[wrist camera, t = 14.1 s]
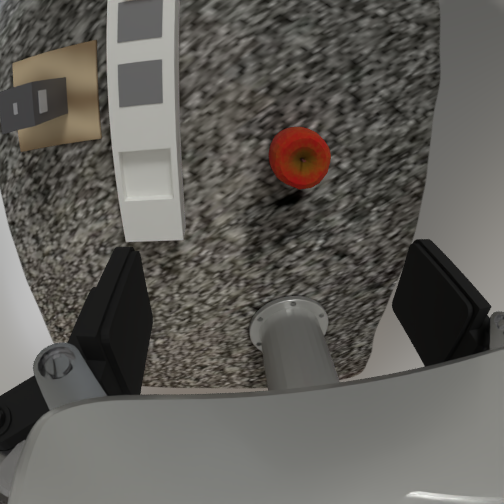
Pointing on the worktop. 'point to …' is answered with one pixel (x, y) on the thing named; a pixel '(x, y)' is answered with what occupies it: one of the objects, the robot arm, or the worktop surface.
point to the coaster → (78, 95)
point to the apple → (299, 157)
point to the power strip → (146, 117)
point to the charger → (32, 104)
